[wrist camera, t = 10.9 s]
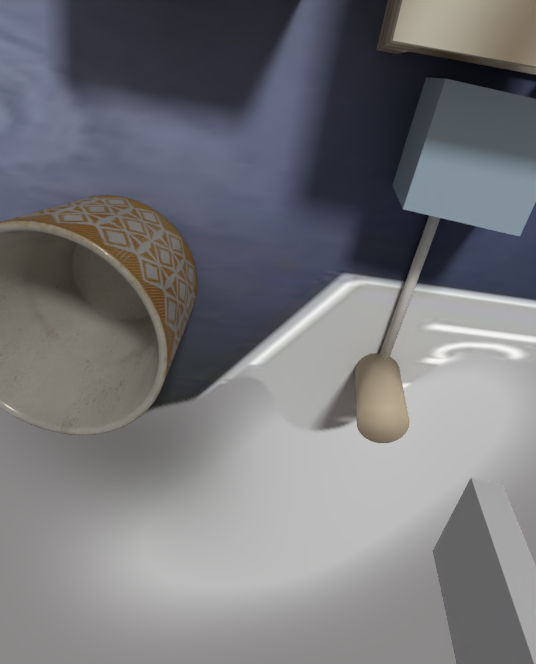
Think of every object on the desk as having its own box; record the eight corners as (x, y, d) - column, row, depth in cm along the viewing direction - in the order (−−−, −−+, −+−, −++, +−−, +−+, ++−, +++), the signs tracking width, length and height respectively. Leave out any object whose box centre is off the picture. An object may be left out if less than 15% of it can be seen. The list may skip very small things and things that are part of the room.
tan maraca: (331, 380, 38) (329, 431, 32) (426, 77, 28) (445, 78, 23) (409, 399, 37) (421, 453, 32) (532, 101, 28) (578, 108, 22)
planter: (231, 212, 33) (187, 268, 24) (192, 368, 39) (146, 461, 30) (44, 154, 33) (-74, 186, 23) (34, 320, 39) (-62, 398, 29)
